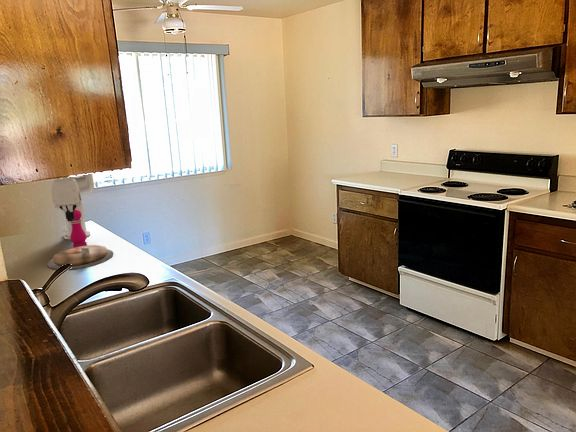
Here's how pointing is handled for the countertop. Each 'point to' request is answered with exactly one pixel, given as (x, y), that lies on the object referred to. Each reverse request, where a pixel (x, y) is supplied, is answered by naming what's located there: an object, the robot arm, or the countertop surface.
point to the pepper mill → (77, 231)
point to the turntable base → (107, 257)
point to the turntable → (80, 255)
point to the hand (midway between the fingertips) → (71, 220)
